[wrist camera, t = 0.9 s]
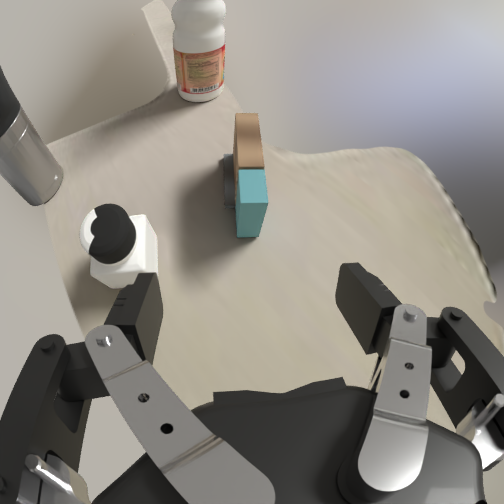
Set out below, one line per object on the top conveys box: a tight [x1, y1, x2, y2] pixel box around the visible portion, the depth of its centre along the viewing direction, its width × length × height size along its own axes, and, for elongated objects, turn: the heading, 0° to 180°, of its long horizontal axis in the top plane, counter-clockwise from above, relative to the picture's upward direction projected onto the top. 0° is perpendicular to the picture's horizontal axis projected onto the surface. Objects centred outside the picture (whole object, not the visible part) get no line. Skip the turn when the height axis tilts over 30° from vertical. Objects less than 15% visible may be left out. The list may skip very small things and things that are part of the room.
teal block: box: [235, 170, 268, 237], centre depth 35 cm, size 4×3×10 cm, turn 4°
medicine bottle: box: [80, 204, 158, 289], centre depth 31 cm, size 7×7×12 cm
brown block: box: [224, 113, 264, 208], centre depth 38 cm, size 10×6×10 cm, turn 4°
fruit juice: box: [171, 0, 226, 102], centre depth 36 cm, size 9×9×28 cm
